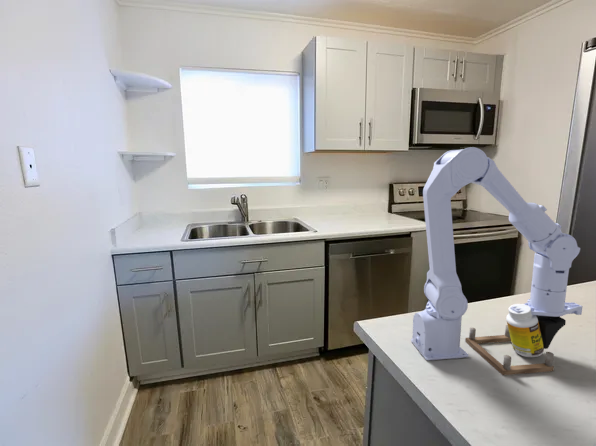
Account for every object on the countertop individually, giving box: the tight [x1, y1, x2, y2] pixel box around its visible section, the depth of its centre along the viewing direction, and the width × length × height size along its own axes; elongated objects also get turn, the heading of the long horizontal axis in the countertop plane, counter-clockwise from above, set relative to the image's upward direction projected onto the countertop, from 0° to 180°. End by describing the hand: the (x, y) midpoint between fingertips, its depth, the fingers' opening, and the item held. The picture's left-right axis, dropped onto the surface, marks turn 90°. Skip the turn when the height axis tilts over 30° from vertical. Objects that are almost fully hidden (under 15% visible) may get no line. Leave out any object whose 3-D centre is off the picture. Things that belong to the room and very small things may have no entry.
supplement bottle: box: [505, 303, 545, 358], centre depth 66 cm, size 6×6×10 cm
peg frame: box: [464, 324, 555, 376], centre depth 66 cm, size 11×12×4 cm
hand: (542, 346), depth 67 cm, fingers closed
